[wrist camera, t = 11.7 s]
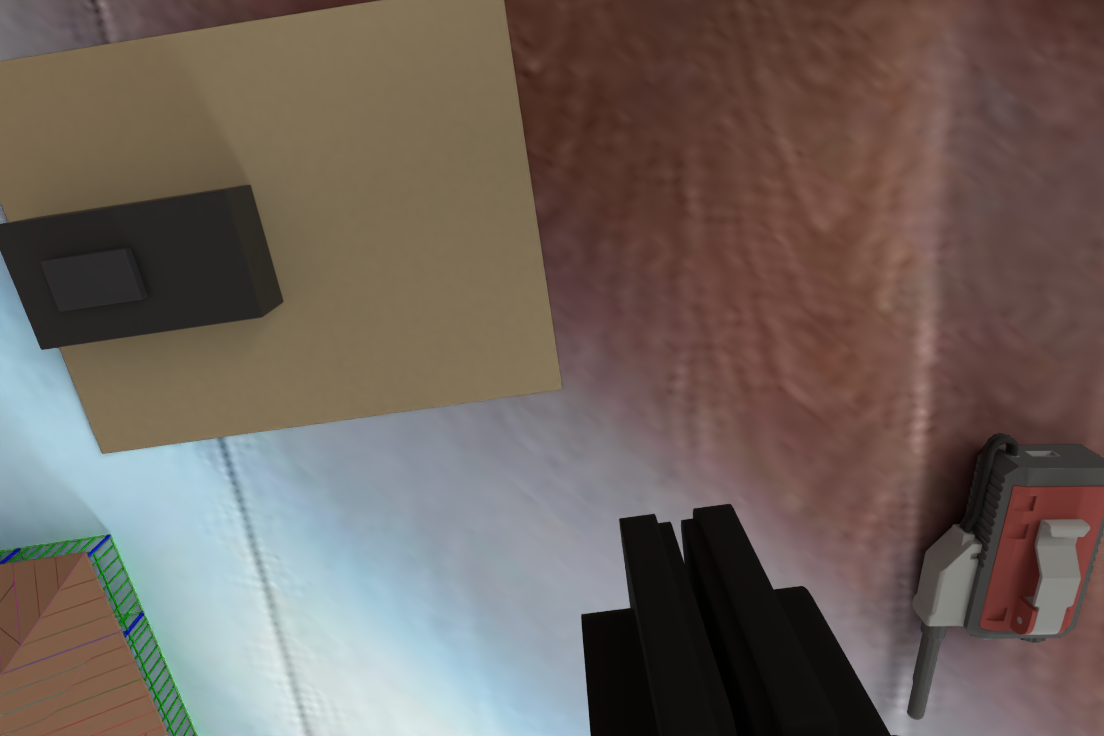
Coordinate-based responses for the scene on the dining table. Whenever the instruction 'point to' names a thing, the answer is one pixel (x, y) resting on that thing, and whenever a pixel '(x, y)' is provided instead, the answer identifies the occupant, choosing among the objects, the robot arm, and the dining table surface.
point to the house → (72, 651)
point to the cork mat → (305, 212)
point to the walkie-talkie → (1013, 551)
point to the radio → (142, 267)
